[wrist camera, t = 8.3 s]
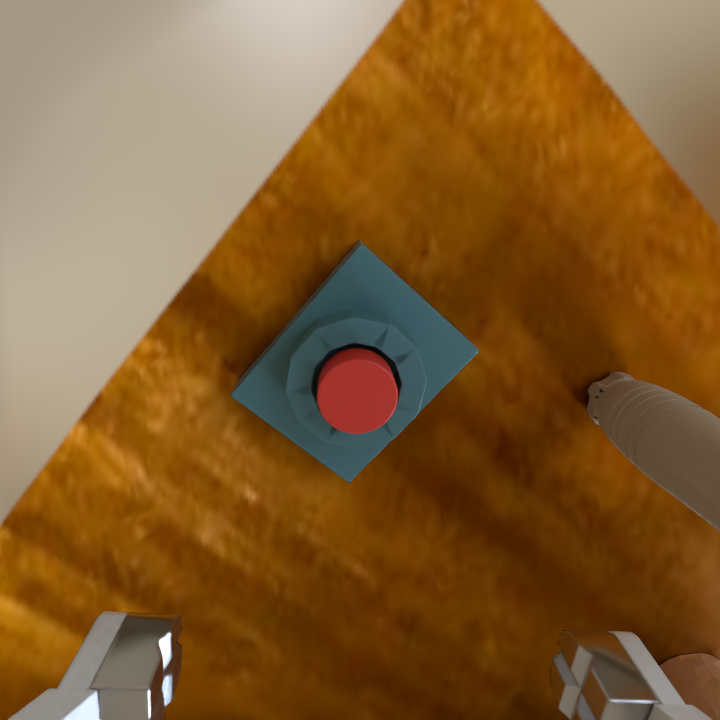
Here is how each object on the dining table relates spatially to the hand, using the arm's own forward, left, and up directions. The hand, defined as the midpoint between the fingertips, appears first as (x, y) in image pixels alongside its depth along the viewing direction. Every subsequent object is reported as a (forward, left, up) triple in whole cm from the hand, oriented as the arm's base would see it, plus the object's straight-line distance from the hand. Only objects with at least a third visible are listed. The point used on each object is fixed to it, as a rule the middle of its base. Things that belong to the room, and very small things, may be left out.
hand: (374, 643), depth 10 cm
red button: (0, +1, -13) cm, 14 cm away
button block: (0, +1, -17) cm, 17 cm away
